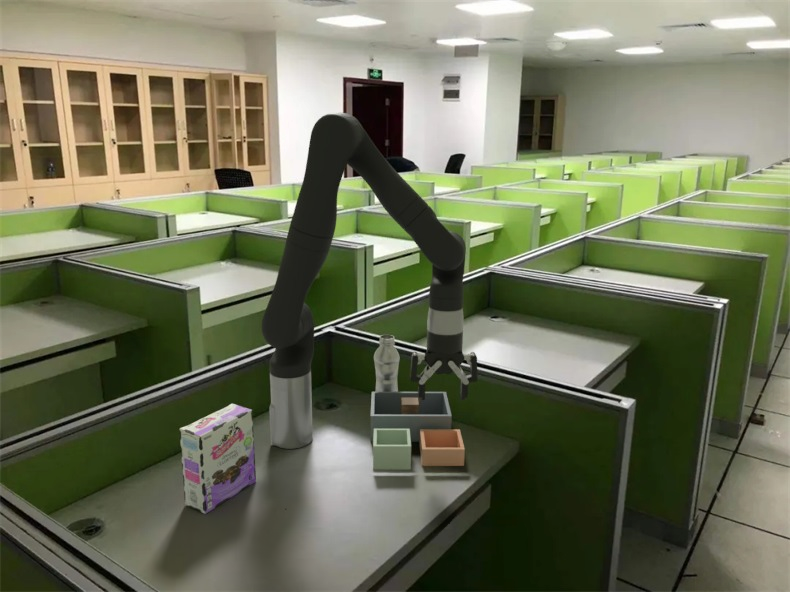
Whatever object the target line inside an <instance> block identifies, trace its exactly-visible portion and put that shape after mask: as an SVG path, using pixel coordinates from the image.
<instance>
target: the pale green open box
mask: <svg viewBox="0 0 790 592" xmlns="http://www.w3.org/2000/svg"><path fill="white" fill-rule="evenodd" d="M372 445H373V446H372V470H411V469H412V465H411V464H412V442H411V438H410V429H374V436H373V441H372Z"/></svg>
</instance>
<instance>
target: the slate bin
mask: <svg viewBox="0 0 790 592" xmlns="http://www.w3.org/2000/svg"><path fill="white" fill-rule="evenodd" d="M401 398H418V402H419V415H408V414H401ZM370 400H371V401H370V442H373V436H374V429H410V438H411V443H412V442H417V443H418V442H419V443H420V429H452V420H453V419H452V418H453V417H452V411H451V407H450V403H449V399H448V396H447V391H425V400H422V399H421V398H419V395H418V391H398V392H375V391H371V398H370Z"/></svg>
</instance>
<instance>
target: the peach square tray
mask: <svg viewBox="0 0 790 592" xmlns="http://www.w3.org/2000/svg"><path fill="white" fill-rule="evenodd" d="M465 449H466V448H465V445H464V441H463V436H462V433H461V429H457V428H456V429H452V428H451V429H420V442H419V452H420V453H419V454H420V461H421V467H464V466H465V451H466V450H465Z"/></svg>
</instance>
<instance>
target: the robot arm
mask: <svg viewBox="0 0 790 592" xmlns="http://www.w3.org/2000/svg"><path fill="white" fill-rule="evenodd" d="M307 151H308V152H307V157H306V158H307V159H306V163H305V164H306V165H305V170H304V177H303V181H302V184H301V187H300V190H299V192H298V197H297V200H296V203H295V207H294V210H293V214H292V217H291V220H290V224H289V228H288V232H287V235H286V239H285V245H284V248H283V253H282V257H281V261H280V264H279V268H278V273H277V277H276V280H275V284H274V286H273V290H272V292H271V295H270V298H269V300H268V303H267V306H266V308H265V310H264V313H263V316H262V320H261V331H262V332H261V333H262V337H263V338H264V340H265V342H266V343H267V344H268V345H269V346H270V347H271V348H272V347H273V348H274V352H273V354H272V356H271V358H270V359H269V381H270V382H269V384H270V404H269V408H268V409H269V410H268V411H269V430H270V432H269V433H270V446H274V447H275V446H276V447H277V448H278V447H279V448H281V449H288V450H290V449H291V450H292V449H293V450H294V449H299V448H303V447H306V446H308V445H309V444H311V442H312V441H313V433H314V431H313V407H312V406H313V403H312V397H313V396H312V368H311V367H312V362H313V358H314V353H315V351H314V350H315V323H314V322H315V321H314V315H313V312H312V310H311V308H310V307H309V306H308V304H306V303H305V300H306V299H307V296H308V293H309V291H310V289H311V287H312V286H313V283H314V281H315V279H316V278H317V277H318V276H319V274H320V271H321V269H322V268H323V266H324V264H325V262H326V260H327V258H328V255H329V252H330V250H331V249H330V248H331V246H332V242H333V238H334V234H335V231H336V227H337V220H338V219H337V217H338V216H337V214H338V193H339V189H340V184H341V182H342V179H343V175H344V172H345V169H346V167H347V166H348V167H350V168H352V170H354V171H355V172H356V173H357V174H358V175H359V176H360V177H361V178H362V179H363V180H364V181H365V183H366V184H367V185H368V186H369V188H370V190H372V192H373V193H374V195H375V197H376V199H377V201H378V202H379V203H380V205H381V206H382V207H383V209H384V210H385V212H386V213H387V214H388V215H389V216H390V217H391V218H392V220H394V221H395V222H396V224H398V225H399V226H400V227H401V229H402V230H404V232H405V233H407V235H409V236H410V237H411V239H412V240H413V241H414V243H415V245H417V247H418V248H419V250H420V251H421V252H422V253H423V255H424V256H425V258H426V259H427V260H428V261H429V262H430V263H431V264H432V266H431V267H432V269H431V270H432V272H431V281H430V285H429V293H428V294H429V296H428V297H429V301H428V312H427V322H426V327H427V328H426V332H427V333H426V351H425V352H424V353H418V352H417V351H413V352H411V361H410V370H409V371H410V372H409V378H410V381H411V382H413V383H414V382H415V383H417V386H418V388H417V392H418V395H419V398H421V399H422V400H425V392H426V382H427V381H428V380H429V379H430V378H431V377H432V376H433V375H434V373H435V374H436V375H444V374H446V375H452V374H453V373H454V374H455V375H456V376H457V377H458V379H459V380H460V387H459V388H460V389H459V391H460V392H459V393H460V394H459V396H460V401H465V399H467V398H468V395H469V384H470V383H476V382H478V356H477V354H476V353H475V352H474V351H471V352H470V353H465V354H464V353H463V340H464V310H463V309H464V273H465V264H466V254H467V253H466V251H467V248H466V247H467V246H466V242H465V240H464V238H463V237H462V235H460V234H459V233H457V232H455V231H450V230H448V229H447V228H446V227H445V226H444V224H442V223H441V221H440V220H439V219H438V218H437V214H436V212H435V211H434V209H432V207H431V206H430V205H429V204H428V203H427V201H425V199H423V198H422V196H420V195H419V194H418V192H417V191H416V190H415V189H414V188H413V187H412V186H411V185H410V184H409V183H408V182H407V181H406V180H405V179H404V178H403V177H402V176H401V175H400V174H399V172H397V171H396V169H395V168H394V167H393V166H392V165H391V163H389V161H388V160H387V159H386V158H385V157H384V155H383V154H382V153H381V152H380V150H379V149H378V147H377V146H376V145H375V143H374V141H373V140H372V138H370V136H369V134H368V133H367V131H366V130H365V129H364V127H363V125H362V124H361V123H360V121H359V120H358V119H357V118H356V117H355V116H353V115H351V114H349V113H346V112H332V113H326V114H324V115H322V116H321V117H320V118H318V120H317V121H316V122H315V123H314V125H313V127H312V130H311V132H310V138H309V146H308V150H307ZM422 361H424V362H425V363H426V366H425V367H424V368H423V370H422V372H421V373H420V374H418V365H421V363H422ZM464 361H466V363H467V364H468V365H469V374H468V375H466V373H465V372H464V371H463V369H462V367H461V364H462V363H463V362H464Z"/></svg>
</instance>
